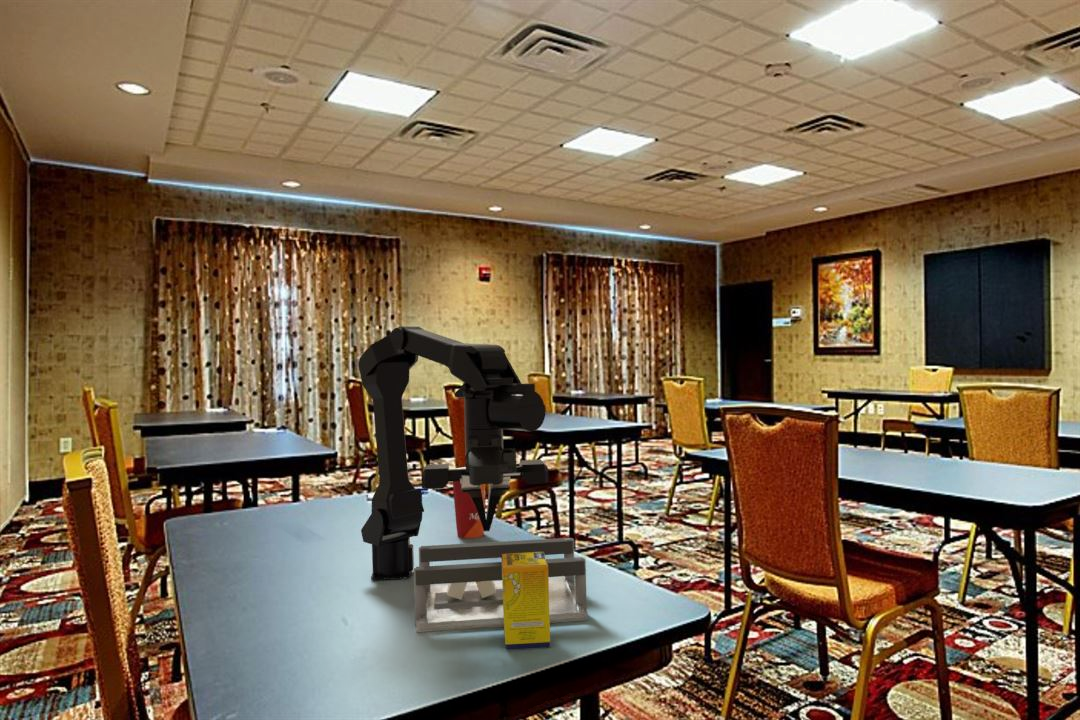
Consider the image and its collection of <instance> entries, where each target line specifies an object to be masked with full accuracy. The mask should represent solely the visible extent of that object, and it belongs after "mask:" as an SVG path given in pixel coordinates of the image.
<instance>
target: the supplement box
mask: <svg viewBox="0 0 1080 720" xmlns="http://www.w3.org/2000/svg"><path fill="white" fill-rule="evenodd" d="M546 559H547V558H546V555H545V554H544V552H529V553H509V554H502V558H501V562H502V580H501V581H502V585H503V614H504V626H503V633H504V645H505V646H504V647H505V650H506V651H508V652H509V651H517V650H518V651H519V650H533V649H546V648H547V649H548V648H550V647H551V626H550V625H551V623H550V616H549V580H548V578H549V577H548V564H547V563H546Z"/></svg>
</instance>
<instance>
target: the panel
mask: <svg viewBox="0 0 1080 720" xmlns="http://www.w3.org/2000/svg"><path fill="white" fill-rule="evenodd" d="M548 580H549V616H550V624H555V623H569V622H570V623H571V622H583V621H584V622H585V621H588V620H589V615H588V613H589V612H588V609H587V610H586V608H584V606H583V604H577V607H576V598H575V585H574V583H572V581H571V580H566V583H565V576H559V577H548ZM494 584H495V588H496V593H494V594H492V595H489V596H487V597H485V598H482V597H481V594H480V592H479V589H478V587H477V584H476V582H467V584H466V587H465V590H464V593H463V596H462V599H461V600H460V599H457V598H453V597H450V596H447V590H448V586H449V583H447V584H431V585H430V591H429V589H426V612H427V617H426V614H424V615H420V617H419V619H417V622H416V626H415V627H416V628H415V631H416V633H423V632H424V633H425V632H426V633H427V632H439V631H442V632H443V631H452V630H453V631H454V630H455V631H456V630H468V629H470V630H471V629H484V628H497V627H504V614H503V585H502V580H495V581H494Z"/></svg>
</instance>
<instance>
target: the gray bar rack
mask: <svg viewBox="0 0 1080 720" xmlns="http://www.w3.org/2000/svg"><path fill="white" fill-rule="evenodd" d="M574 541H575V540H574V538H572V537H561V538H558V537H557V538H544V539H543V538H541V539H523V540H506V541H505V540H504V541H488V542H474V543H473V542H468V543H455V544H454V543H452V544H437V545H436V544H434V545H420V546H419V547H418V564H419V565H418V566H416V567H415V568H413V583H414V584H413V585H414V587H413V588H414V589H413V590H414V591H413V593H414V616H415V617H414V621H415V622H414V623H415V624H414V625H415V626H414V627H416V622H417V619H419V617H420V615H424V614H426V617H427V612H426V589H429V591H430V585H443V584H449V583H463V582H467V583H475V582H479V581H502V561H496V562H495V561H494V562H478V563H477V562H476V563H475V562H474V563H461V564H460V563H459V564H445V565H444V564H443V565H430V563H431V562H433V563H434V562H445V561H446V562H450V561H468V560H470V561H471V560H483V559H499V558H500V559H502V554H509V553H529V552H544V554H545V556H553V555H563V557H561V558H545V559H546V563H547V564H548V578H555V577H564V576H565V583H566V580H571V581H572V583H574V585H575V598H576V607H577V604H583V606H584V608H586V610H587V611H588V607H587V605H588V604H587V602H588V601H587V597H588V596H587V569H586V568H587V565H586V562H587V561H586V558H585V557H582V556H581V557H580V556H577V557H576V556H575V546H574V544H575V543H574Z"/></svg>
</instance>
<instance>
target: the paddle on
mask: <svg viewBox="0 0 1080 720" xmlns="http://www.w3.org/2000/svg"><path fill="white" fill-rule="evenodd" d="M467 583H468V582H463V583H448V584H449V586H448V590H447V596H450V597H453V598H457V599H460V600H461V599H462V596H463V593H464V590H465V587H466V584H467Z"/></svg>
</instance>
